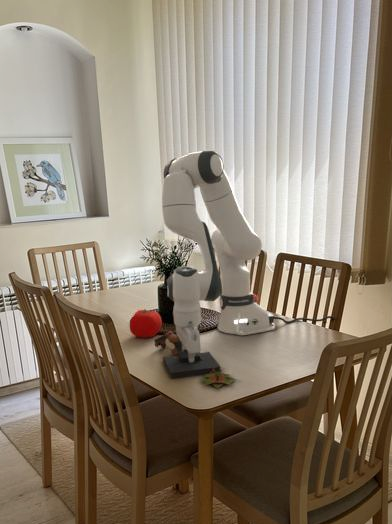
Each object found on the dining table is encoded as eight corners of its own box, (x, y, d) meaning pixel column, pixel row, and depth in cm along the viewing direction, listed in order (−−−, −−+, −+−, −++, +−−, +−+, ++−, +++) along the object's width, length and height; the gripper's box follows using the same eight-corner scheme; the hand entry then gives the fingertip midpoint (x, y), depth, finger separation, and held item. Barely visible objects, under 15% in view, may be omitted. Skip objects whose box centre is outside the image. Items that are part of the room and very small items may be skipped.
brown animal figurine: (168, 360, 187) (156, 338, 187) (158, 363, 196) (147, 343, 195) (195, 344, 192) (184, 323, 192) (185, 348, 201) (174, 328, 200)
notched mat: (209, 357, 187) (209, 351, 187) (220, 372, 175) (220, 366, 174) (163, 362, 184) (163, 356, 183) (171, 378, 171) (171, 372, 170)
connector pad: (195, 358, 186) (195, 349, 185) (200, 364, 180) (199, 356, 179) (178, 360, 184) (178, 351, 183) (182, 366, 179) (182, 358, 178)
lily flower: (217, 370, 176) (217, 357, 174) (245, 381, 168) (245, 367, 166) (190, 381, 168) (189, 368, 167) (217, 393, 160) (217, 379, 159)
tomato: (126, 334, 212) (124, 308, 208) (156, 329, 217) (155, 304, 214) (136, 342, 203) (135, 316, 199) (168, 337, 208) (166, 311, 204)
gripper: (205, 326, 168) (205, 368, 173) (189, 308, 187) (190, 346, 192) (184, 328, 167) (186, 370, 172) (171, 310, 185) (173, 348, 190)
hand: (188, 357), depth 182 cm, fingers closed on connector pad, 6 cm apart
